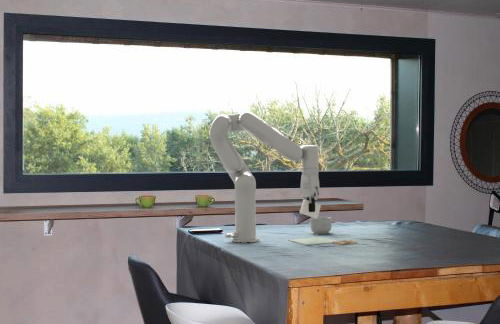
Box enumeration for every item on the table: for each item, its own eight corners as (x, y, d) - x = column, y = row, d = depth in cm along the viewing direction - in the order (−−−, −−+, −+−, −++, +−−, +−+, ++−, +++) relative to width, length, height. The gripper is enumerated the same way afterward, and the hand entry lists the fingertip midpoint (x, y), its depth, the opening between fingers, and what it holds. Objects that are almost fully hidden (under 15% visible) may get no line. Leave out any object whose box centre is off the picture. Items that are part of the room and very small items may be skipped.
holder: (338, 244, 298) (338, 242, 298) (332, 243, 302) (332, 241, 302) (357, 243, 302) (357, 241, 302) (351, 242, 306) (351, 239, 306)
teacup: (324, 235, 328) (324, 219, 328) (305, 233, 335) (305, 217, 335) (338, 232, 339) (338, 216, 339) (320, 230, 346) (320, 215, 346)
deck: (301, 213, 308) (305, 199, 309) (299, 212, 310) (303, 199, 310) (317, 218, 312) (321, 205, 312) (314, 218, 313) (318, 204, 314)
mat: (306, 245, 298) (306, 244, 298) (287, 240, 312) (287, 239, 312) (340, 242, 306) (339, 241, 306) (320, 237, 320) (320, 237, 320)
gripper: (294, 171, 316) (294, 210, 316) (312, 172, 302) (312, 213, 302) (308, 171, 319) (308, 209, 320) (326, 172, 305) (326, 212, 306)
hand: (310, 211), depth 311 cm, fingers closed on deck, 1 cm apart
